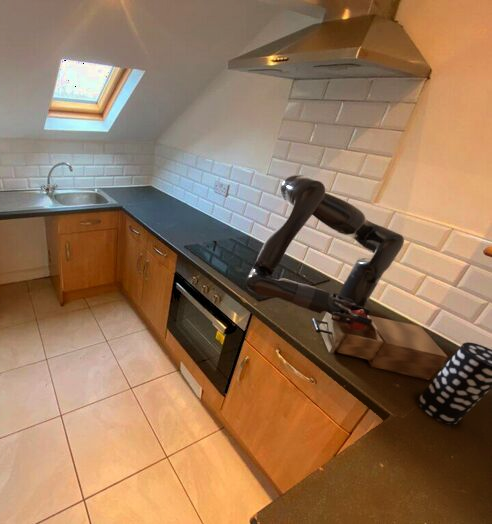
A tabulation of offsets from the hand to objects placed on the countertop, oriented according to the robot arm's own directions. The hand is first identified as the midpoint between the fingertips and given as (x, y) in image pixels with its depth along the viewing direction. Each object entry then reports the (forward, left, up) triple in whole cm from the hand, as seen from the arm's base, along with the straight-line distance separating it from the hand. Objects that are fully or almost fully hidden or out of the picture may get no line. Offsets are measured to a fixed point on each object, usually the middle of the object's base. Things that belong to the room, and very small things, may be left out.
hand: (369, 317), depth 91 cm
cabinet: (-1, +12, -13) cm, 18 cm away
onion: (-1, -3, -6) cm, 7 cm away
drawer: (-1, -3, -12) cm, 13 cm away
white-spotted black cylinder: (+17, +16, -13) cm, 27 cm away
